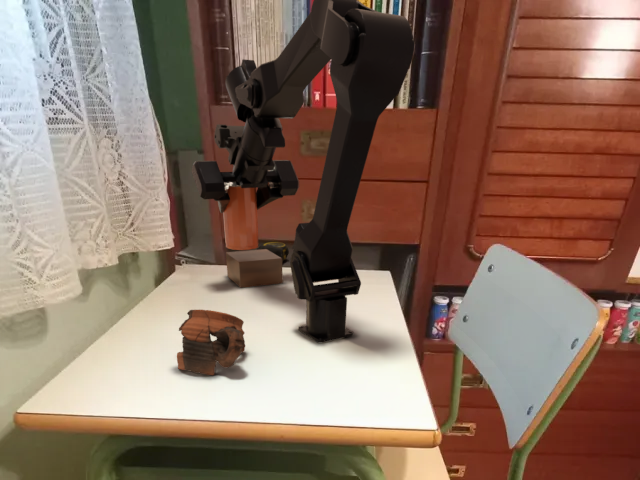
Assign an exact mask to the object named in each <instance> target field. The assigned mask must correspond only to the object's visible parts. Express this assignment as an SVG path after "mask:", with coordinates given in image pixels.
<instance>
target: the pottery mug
mask: <svg viewBox="0 0 640 480" xmlns="http://www.w3.org/2000/svg"><path fill="white" fill-rule="evenodd" d="M187 315H188V318H187V319H185V320H184V322H182V323H181V324H180V326H179V328H178V331H179V332H180V335H181V336H182V341H181V342H182V351H178V352H177V353H176V361H177V369H178V370H182V371H189V372H191V373H195V374H202V375H208V376H214V375H215V371H216V365H217V363H218V365H220V367H222V368H224V369H228V368H231V367H232V366H234V365H235V363H236V361H237V359H238V358H239V357H240V355H241V354H242V353H244V352H245V349H246V341H245V337H244V335H245V331H244V330H243V325H244V323H245V321H244V320H243V319H241V318H240V317H238V316H235V315H232V314H229V313H226V312H221V311H217V310H211V309H189V310H188V312H187ZM212 337H216V339H214V340H212Z"/></svg>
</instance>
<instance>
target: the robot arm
mask: <svg viewBox="0 0 640 480" xmlns="http://www.w3.org/2000/svg"><path fill="white" fill-rule="evenodd" d="M412 31H413V30H412V27H411V24H410V21H409V20H408V19H407V18H406V17H405V16H403V15H401V14H399V15H398V14H393V13H387V12H380V11H378V10H375V9H373V8H371V7H369V6H366V5H365V4H364V3H362V2H361V1H360V0H313V1H312V5H311V9H310V12H309V14H308V15H307V17H306V18H305V19H304V21H303V22H302V23H301V25H300V26H299V27H298V29H297V30H296V31H295V32H294V35H293V36H292V37H291V39H290V40H289V41H288V43H287V44H286V46H285V47H284V48H283V50H282V51H281V53H280V54H279V56H278V57H276V58H275V59H273V60H270V61H266V62H264V63H261V64H260V65H259V66H258V67H257V64H256V62H255V59H254V60H253V59H244V58H243V59H242V60H241V64H240V65H238V66H236V67H234V68H233V69H231V71H230V72H228V75H227V76H226V77H225V88H226V91H227V93H228V96H229V98H230V101H231V104H232V106H233V109H234V112H235V115H236V117H237V119H238V121H240V122H242V123H245V124H244V125H227V124H220V123H219V124H218V123H217V124H216V126H215V128H214V143H215V144H216V146H217V147H218V148H219V149H225V150H226V151H227V152H228V157H227V160H228V163H229V165H230V166H233V167H232V171H221V170H220V168H219V164H218V162H217V161H216V160H195V161H194V162H193V163H192V167H191V174H192V177H193V180H194V183H195V186H196V189H197V191H198V194H199V197H200V198H201V199H203V200H213V201H214V202H217V204H218V205H217V206H218V210H219V213H220V214H223V212H224V211H225V209H226V207H227V205H228V203H229V201H230V197H229V195H228V192H227V191H228V189H229V187H241V188H256V199H257V211H258V210H260V209H261V208H263V207H265V206H267V205H268V204H270V203H272V202H274V201H276V200H278V199H282V198H284V197H286V196H287V197H288V196H296V194H297V193H298V190H299V188H300V179H299V178H298V175H297V172H296V170H295V167H294V165H293V163H292V161H291V160H287V159H273V157H274V155H275V152H276V150H277V148H278V149H279V148H281V149H283V148H285V147H286V138H285V136H284V133H283V125H282V122H281V120H280V119H294V118H296V116H297V114H298V113H299V111H300V110H301V108H302V106H303V104H305V94H304V91H305V90H306V88H307V87H308V86H309V84H311V82H312V81H313V80H314V79H315V78H316V77H317V76H318V75H319V74H320V72H321V71H322V70H323V69H324V68H325V67H326V66H327V64H328V63H329V62H330V67H329V68H330V69H329V76H330V80H331V83H332V87H333V90H334V94H335V98H336V110H335V114H334V118H333V124H332V128H331V132H330V137H329V142H328V147H327V152H326V156H325V160H324V165H323V170H322V173H321V179H320V184H319V188H318V193H317V198H316V202H315V207H314V212H313V216H312V219H311V220H310V221H309V222H299V223H298V224H297V226H296V228H295V233H294V236H295V237H294V241H293V244H292V246H291V249H292V253H291V256H290V261H289V264H290V271H291V277H292V283H293V284H292V285H293V289H294V294H295V295H296V298H297V299H298V300H304V301H306V304H305V305H306V306H305V307H306V311H305V315H306V317H305V322H306V323H305V324H306V325H301V326H298V328H297V329H298V330H297V331H299V332H300V333H302V334H303V335H305V336H307V337H308V338H311V340H313V341H315V342H316V343H319V344H320V343H326V342H330V341H331V342H332V341H335V340H340V339H343V338H348V337H352V336H354V331H352V330H350V329H348V328H347V309H348V308H347V305H348V297H347V296H353V295H354V296H357V295H359V292H360V290H361V286H362V282H361V278H360V276H359V273H358V271H357V269H356V266H355V264H354V261H353V259H352V254H353V245H352V242H351V239H350V238H351V237H350V236H349V232H348V227H349V224H350V221H351V216H352V214H353V209H354V205H355V202H356V198H357V195H358V191H359V189H360V184H361V180H362V177H363V173H364V170H365V166H366V162H367V159H368V156H369V153H370V152H369V151H370V148H371V145H372V141H373V137H374V133H375V130H376V126H377V123H378V121H379V118H380V116H381V115H382V113H383V112H385V110H386V109H387V108H388V106H390V104H391V103H392V102H393V101H394V100H395V99H396V97H397V96H398V95H399V94H400V92H401V90H402V87H403V84H404V83H405V79H406V77H407V75H408V72H409V70H410V68H411V65H412V61H413V60H414V54H415V50H416V49H415V46H416V41H415V38H414V35H413V32H412ZM330 281H331V282H330ZM332 281H335V282H332ZM321 282H329V283H321ZM315 283H321V284H315Z"/></svg>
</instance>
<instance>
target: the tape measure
mask: <svg viewBox="0 0 640 480" xmlns="http://www.w3.org/2000/svg"><path fill="white" fill-rule="evenodd" d="M261 249H267V250H269V251H270V252H272V253H274V254H276V255H277V256H279V257H281V258H282V262H284V261H285V260H287V258H288V255H289V253H290V250H289V247H288V246H287V244H285V243H283V242H279V241H270V242H263V243H261V244H260V245H258V248H256V250H261Z"/></svg>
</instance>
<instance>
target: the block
mask: <svg viewBox="0 0 640 480" xmlns="http://www.w3.org/2000/svg"><path fill="white" fill-rule="evenodd" d="M225 260H226V273H227V274H226V275H227V277H228V278H229V279H230V280H231V281H232V282H233V283H234V284H236V286H238V287H239V288H241V289H242V288H243V289H244V288H250V287H251V288H253V287H260V286H270V285H278V284H283V261H282V258H281V257H279V256H277V255H276V254H274V253H272V252H270V251H269V250H267V249H261V250H257V249H250V250H235V251H226V252H225Z"/></svg>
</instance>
